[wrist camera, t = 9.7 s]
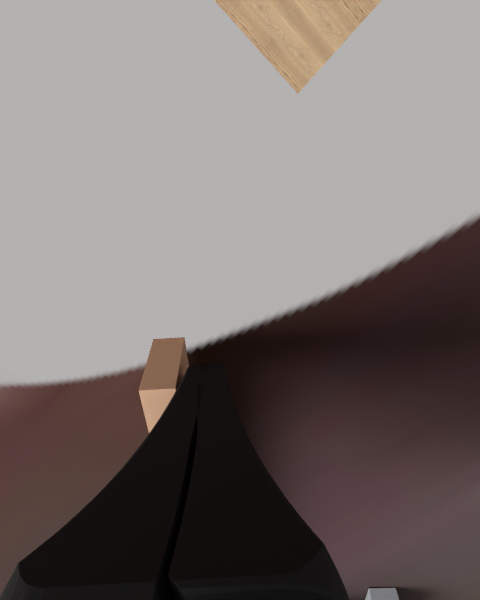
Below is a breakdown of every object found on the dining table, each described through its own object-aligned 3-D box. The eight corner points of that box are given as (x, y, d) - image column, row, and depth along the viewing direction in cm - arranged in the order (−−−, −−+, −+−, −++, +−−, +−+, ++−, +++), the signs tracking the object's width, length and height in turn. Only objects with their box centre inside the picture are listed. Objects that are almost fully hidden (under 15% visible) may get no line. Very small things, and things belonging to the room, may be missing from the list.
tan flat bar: (228, 586, 22) (228, 675, 19) (202, 587, 22) (197, 677, 19) (191, 328, 14) (179, 409, 11) (150, 330, 14) (124, 412, 11)
